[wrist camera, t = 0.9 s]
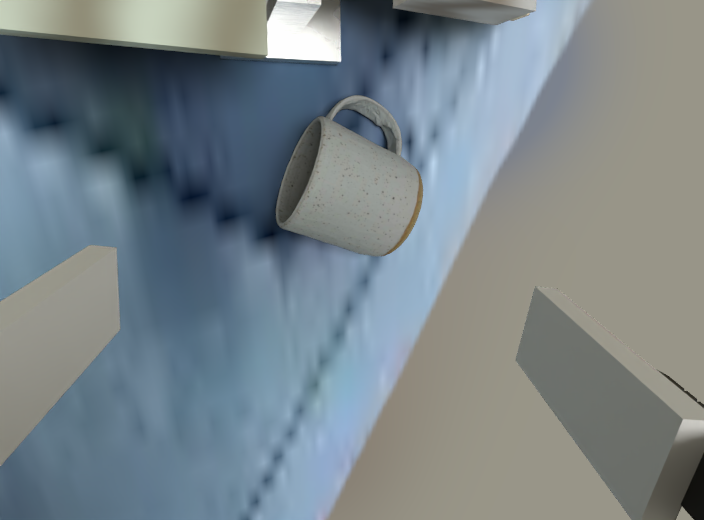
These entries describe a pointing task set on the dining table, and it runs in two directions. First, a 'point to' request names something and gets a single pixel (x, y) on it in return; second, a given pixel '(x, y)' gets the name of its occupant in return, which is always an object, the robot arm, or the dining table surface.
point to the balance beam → (199, 21)
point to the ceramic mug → (351, 184)
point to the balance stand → (302, 32)
